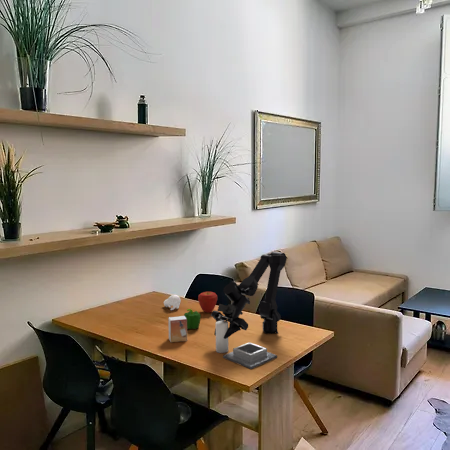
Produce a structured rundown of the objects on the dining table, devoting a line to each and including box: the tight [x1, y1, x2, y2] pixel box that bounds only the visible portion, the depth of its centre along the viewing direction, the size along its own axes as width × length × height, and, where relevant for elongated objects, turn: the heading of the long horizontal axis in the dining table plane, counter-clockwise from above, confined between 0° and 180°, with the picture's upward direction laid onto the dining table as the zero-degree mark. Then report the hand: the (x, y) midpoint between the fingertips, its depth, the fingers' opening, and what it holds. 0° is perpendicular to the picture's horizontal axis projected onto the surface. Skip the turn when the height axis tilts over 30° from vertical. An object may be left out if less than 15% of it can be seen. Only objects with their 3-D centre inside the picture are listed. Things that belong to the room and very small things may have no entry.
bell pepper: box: [183, 308, 202, 330], centre depth 221 cm, size 8×8×10 cm
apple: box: [197, 291, 218, 314], centre depth 247 cm, size 11×11×12 cm
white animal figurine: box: [163, 294, 182, 311], centre depth 255 cm, size 6×8×12 cm
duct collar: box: [222, 342, 278, 370], centre depth 183 cm, size 16×16×4 cm
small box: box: [168, 315, 188, 343], centre depth 204 cm, size 8×6×10 cm
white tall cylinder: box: [215, 321, 229, 354], centre depth 190 cm, size 6×6×12 cm
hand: (219, 336), depth 189 cm, fingers closed on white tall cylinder, 5 cm apart
